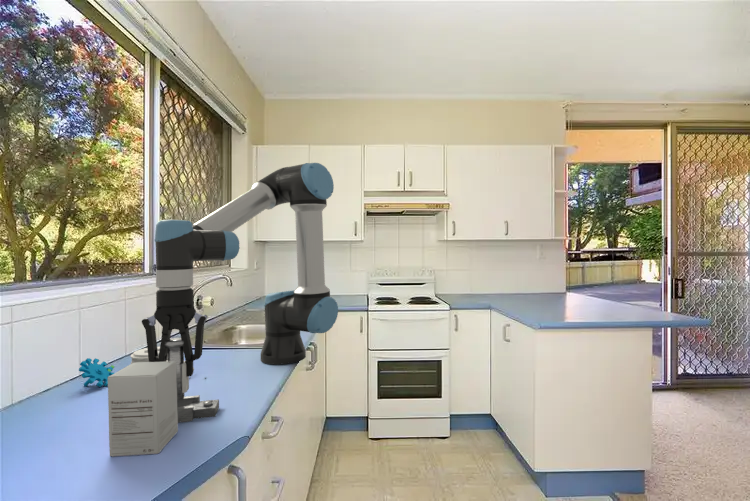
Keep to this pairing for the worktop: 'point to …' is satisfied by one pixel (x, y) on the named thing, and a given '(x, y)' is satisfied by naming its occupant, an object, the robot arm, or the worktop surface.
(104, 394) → the worktop surface
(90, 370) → the gear
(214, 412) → the bolted rod clamp
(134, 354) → the lid
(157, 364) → the supplement box
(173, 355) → the pin
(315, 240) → the robot arm
